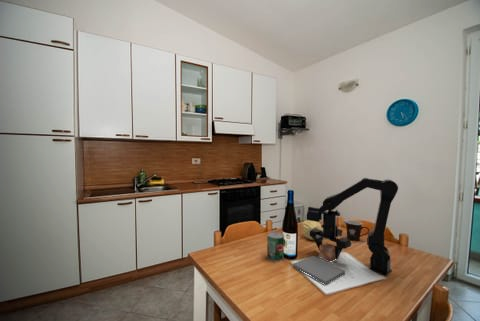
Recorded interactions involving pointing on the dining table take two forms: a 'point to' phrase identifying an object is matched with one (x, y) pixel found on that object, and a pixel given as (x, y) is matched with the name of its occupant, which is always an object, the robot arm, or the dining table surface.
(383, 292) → the dining table surface
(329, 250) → the terracotta cube
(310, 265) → the charcoal board
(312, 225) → the pale yellow rounded lump
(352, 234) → the coffee mug
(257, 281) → the dining table surface
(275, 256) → the canned tomato
